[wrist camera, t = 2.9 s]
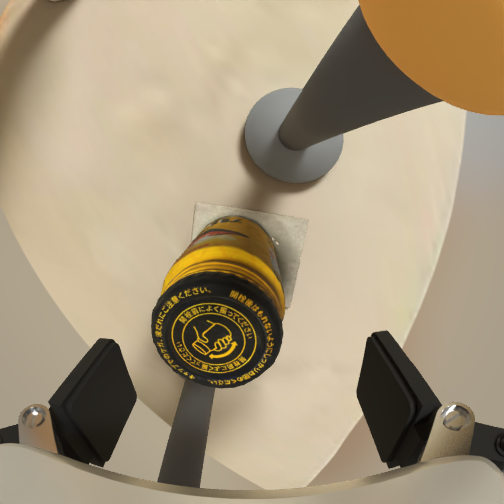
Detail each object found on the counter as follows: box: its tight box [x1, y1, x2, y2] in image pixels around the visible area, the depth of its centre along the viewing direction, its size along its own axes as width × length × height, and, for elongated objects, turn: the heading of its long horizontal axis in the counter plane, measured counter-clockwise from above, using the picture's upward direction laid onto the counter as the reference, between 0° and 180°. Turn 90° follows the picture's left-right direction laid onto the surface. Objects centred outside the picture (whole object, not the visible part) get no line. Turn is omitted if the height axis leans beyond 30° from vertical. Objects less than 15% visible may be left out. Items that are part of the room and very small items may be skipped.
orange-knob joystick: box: [157, 375, 215, 488], centre depth 15 cm, size 7×7×20 cm
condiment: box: [151, 203, 308, 388], centre depth 16 cm, size 7×8×12 cm
